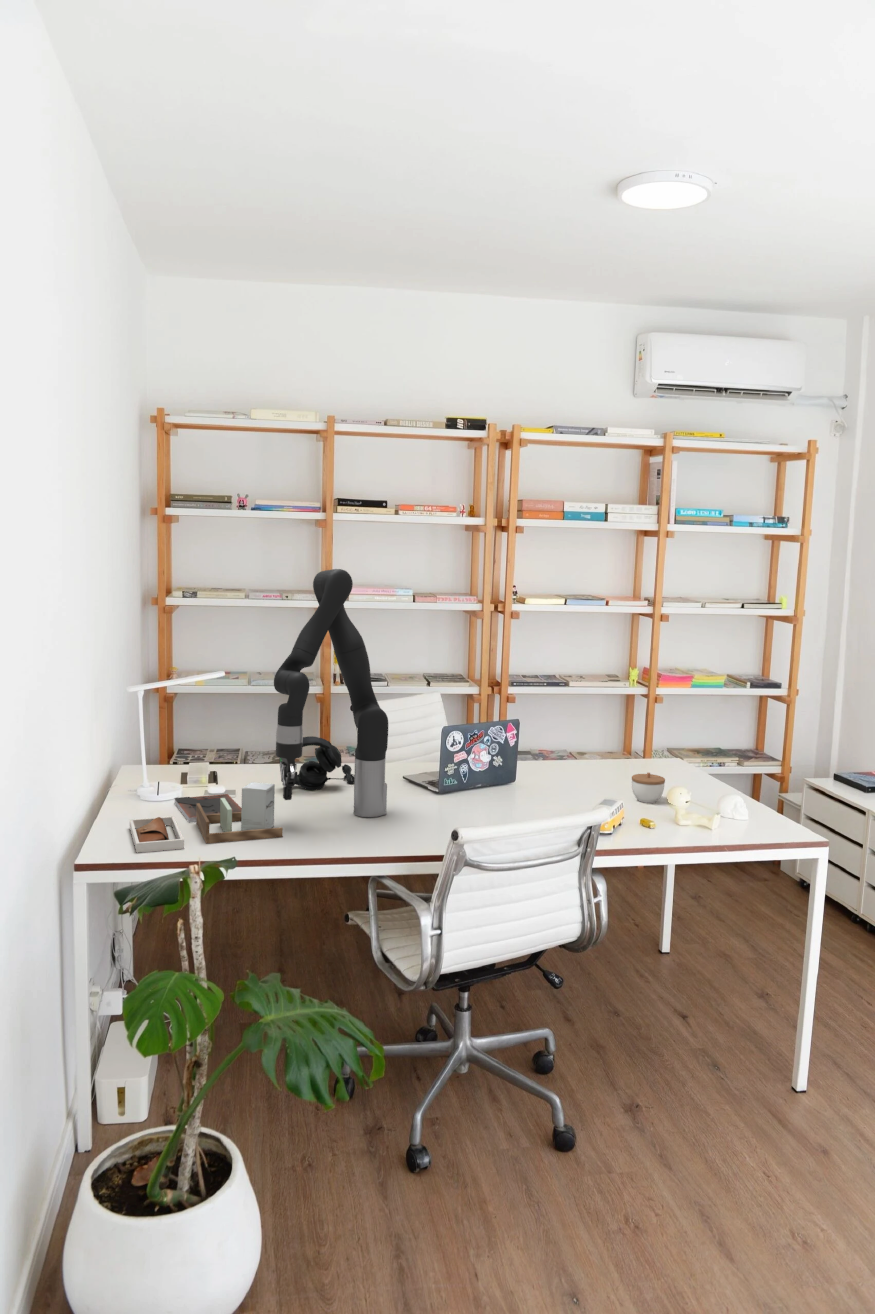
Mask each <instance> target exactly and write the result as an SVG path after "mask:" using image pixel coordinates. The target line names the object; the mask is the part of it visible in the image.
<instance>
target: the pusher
mask: <svg viewBox="0 0 875 1314" xmlns="http://www.w3.org/2000/svg"><path fill="white" fill-rule="evenodd" d="M219 825H220V828H221V827H222V828H221V829H222V831H223V832H232V831H233V822H232V809H231V807H230V805H229V804H228V802H227V801H226V799H225V798H220V823H219Z"/></svg>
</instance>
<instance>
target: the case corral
mask: <svg viewBox="0 0 875 1314" xmlns="http://www.w3.org/2000/svg"><path fill="white" fill-rule="evenodd" d="M160 817H161V818H162V819H163V821H164V823H165V825H172V826H171V828H172V827H173V828H172V830H174V831H173V833H174V835H176V836H175V837H176V838H175V839H169V840H162V841H150V842H139V840H138V836H137V833H136V829H135V828H137V829H138V828H140V827H142V826H144V825H146V824H148V823H150V822H151V821H152V820H154V819H156V818H157V817H148V818H146V817H145V818H136V819H135V818H134V819H129V831H130V830H131V831H130V834H132V835H131V837H132V838H133V839H132V842H133V845H135V846H134V850H135V849H136V850H135V853H136V852H137V853H136V854H139V853H138V852H142V853H151V852H162V851H163V850H164V851H172V850H175V849H176V850H184V849H185V838H184V836H183V834H182V831H181V828H180V826H179V824H178V823H177V819H176V817H175V816H174V815H173V816H171V815H170V816H160Z"/></svg>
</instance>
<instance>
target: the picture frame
mask: <svg viewBox="0 0 875 1314" xmlns="http://www.w3.org/2000/svg"><path fill="white" fill-rule="evenodd" d="M220 798H225V799H226V801H227V802H228V804H229V805H230V807H231V809H232V813H234V812H241V811H242V806H240V805H239V804H238V803H237V802H236V800H234V799H233V798H232V797H231V796H230V795H229V794H228V793H222V794H212V795H200V796H182V797H174V805H175V804H176V805H177V806H176V805H175V806H176V808H177V809H178V808H179V809H180V810H179V809H178V810H179V811H180V813H181V812H182V813H181V814H182V815H183V817H184V816H185V817H184V818H185V820H188V821H187V822H188V823H189V824H191V823H190V822H194V823H196V803H199V804H200V805H201V807H202V809H203V811H204V813H205V815H208V814H220Z"/></svg>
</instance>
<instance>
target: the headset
mask: <svg viewBox="0 0 875 1314" xmlns="http://www.w3.org/2000/svg"><path fill="white" fill-rule="evenodd" d="M308 746H314V747H315V746H317V747H316V748H314V754H315V758H316V760H317V761H314V760H309V761H306V762H304V763H302V765H301V766H300V768H299V771H298V773H297V778H296V782H295V785H296V786H299V787H301V788H303V789H305V790H308V791H316V789H317V790H320V789H322V788H323V787H324V786H325V785H326V783H327V782H328V780H329V781H330V780H343V781H345V780H346V782H347V783H348V784H350V785H353V784H354V776H355V774H354V773H353V774H352V767H351V766H350V765H348V764H346V763H345V764H344V765H342V763H343V762H342V754H341V752H340V750H339V748H338V747H337V746H335V745H333V744H332V743H331V741H329V740H328V739H325V738H322V737H319V736H312V735H311V736H303V746H302V748H304V747H308ZM278 760H279V764H280V763H281V762H282V758H279V759H278ZM338 768H341V771H342V773H343V774H344V775H343V778H338V777H337V778H334V777H333V778H331V777H328V776H327V775H328V773H332V772H333V771H335V770H336V769H338Z"/></svg>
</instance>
